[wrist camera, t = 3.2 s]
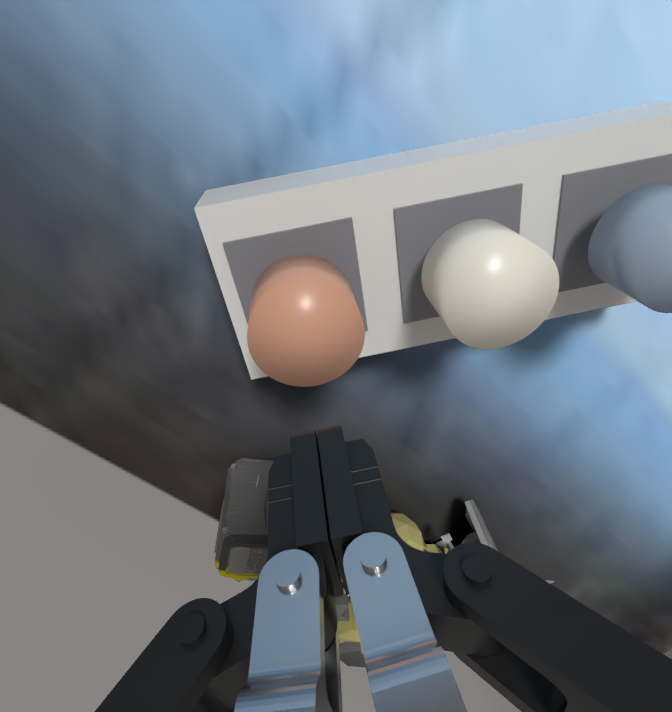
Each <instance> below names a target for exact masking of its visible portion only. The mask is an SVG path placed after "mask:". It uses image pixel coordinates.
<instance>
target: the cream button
mask: <svg viewBox="0 0 672 712" xmlns="http://www.w3.org/2000/svg"><path fill="white" fill-rule="evenodd" d="M421 280H422V287H423V290H424V293H425V295H426V297H427V299H428V300H429V302H430V303H431V304H432V306H433V307H434V309H435V310H436V311H437V313H438V314H439V316H440V317H441V318H442V320H443V321H444V323H445V324H446V325H447V327H448V328H449V330H450V331H451V333H452V334H453V335H454V336H455V337H456V338H457V339H458V340H459V341H460V342H462V343H463V344H465V345H467V346H470V347H472V348H477V349H484V350H489V349H498V348H503V347H506V346H509V345H512V344H514V343H516V342H518V341H520V340H522V339H524V338H525V337H527V336H528V335H529V334H531V333H532V332H533V331H534V330H536V329H537V328H538V327H539V326H540V325H541V324H542V322H543V321H544V320H545V319H546V317H547V316H548V315H549V313H550V311H551V310H552V308H553V306H554V303H555V301H556V298H557V295H558V290H559V273H558V269H557V266H556V264H555V262H554V260H553V259H552V257H551V256H550V255H549V254H548V253H547V252H546V251H545V250H543V249H542V248H540V247H539V246H537V245H535V244H534V243H532V242H531V241H529V240H527V239H526V238H524V237H522V236H521V235H519V234H518V233H516V232H514V231H513V230H511V229H509V228H508V227H506V226H505V225H503V224H501V223H499V222H497V221H494V220H490V219H473V220H468V221H464V222H462V223H459V224H457V225H455V226H453V227H452V228H450V229H449V230H447V231H446V232H445V233H443V234H442V235H441V236H440V237H439V238H438V239H437V240H436V241H435V243H434V244H433V245H432V247H431V248H430V250H429V252H428V253H427V255H426V258H425V260H424V264H423V267H422V277H421Z"/></svg>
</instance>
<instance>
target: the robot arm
mask: <svg viewBox="0 0 672 712" xmlns="http://www.w3.org/2000/svg"><path fill="white" fill-rule="evenodd" d="M317 435H318V438H317ZM290 441H291V454H287V455H283V456H278V457H276V458H275V460H274V462H273V464H272V466H271V468H270V470H269V472H268V489H269V491H268V502H269V505H268V555H267V561H266V564H265V566H264V567H263V569H262V571H261V573H260V576H259V577H258V579H257V580H256V581H255V582H254V583H253V584H252V585H251V586H250V587H248V588H247V589H246V590H244V591H243V592H241V593H239V594H238V595H236V596H234V597H232V598H230V599H229V600H227V601H225V602H223V603H222V604H219V603H218V602H216V601H214V600H212V599H208V598H200V599H195V600H192V601H191V602H188V603H186V604H185V605H183V606H182V607H180V608H179V609H178V610H177V611H176V612H175V613H174V614H173V615H172V616H171V617H170V619H169V620H168V621H167V623H166V624H165V625H164V626H163V628H162V629H161V630H160V631H159V633H158V634H157V635H156V636H155V637H154V639H153V640H152V641H151V642H150V644H149V645H148V646H147V647H146V649H145V650H144V651H143V652H142V653H141V655H140V656H139V657H138V659H137V660H136V661H135V662H134V663H133V665H132V666H131V667H130V669H129V670H128V671H127V672H126V673H125V675H124V676H123V677H122V678H121V680H120V681H119V682H118V683H117V685H116V686H115V687H114V688H113V690H112V691H111V692H110V693H109V694H108V696H107V697H106V698H105V700H104V701H103V702H102V703H101V705H100V706H99V707H98V708H97V709H96V711H95V712H342V694H341V674H340V654H339V634H338V627H337V625H338V622H337V612H336V604H335V597H338V596H343V595H344V593H343V586H342V581H343V584H344V588H345V591H346V594H350V598H351V602H352V607H353V611H354V615H355V620H356V624H357V628H358V633H359V637H360V641H361V646H362V650H363V654H364V659H365V664H366V669H367V675H368V679H369V684H370V688H371V692H372V697H373V701H374V706H375V710H376V712H467V710H466V707H465V705H464V703H463V699H462V697H461V694H460V691H459V689H458V686H457V683H456V681H455V678H454V675H453V673H452V670H451V667H450V665H449V662H448V660H447V657H446V655H445V653H444V651H443V650H445V651H451V652H454V654H455V655H456V656H457V657H458V658H459V659H460V660H461V661H463V662H464V663H465V664H466V665H467V666H468V667H470V668H471V669H472V670H473V671H474V672H476V673H477V674H478V675H479V676H480V677H481V678H483V679H484V680H485V681H486V682H487V683H489V684H490V685H491V686H492V687H493V688H494V689H496V690H497V691H498V692H499V693H500V694H502V695H503V696H504V697H505V698H506V699H507V700H509V701H510V702H511V703H512V704H514V705H515V706H516V707H517V708H518V709H519V710H521V711H522V712H672V659H670V658H668V657H667V656H665V655H663V654H662V653H660V652H659V651H657V650H656V649H654V648H652V647H651V646H649V645H648V644H646V643H644V642H643V641H641V640H640V639H638V638H636V637H635V636H633V635H631V634H630V633H628V632H627V631H625V630H623V629H622V628H620V627H619V626H617V625H615V624H614V623H612V622H611V621H609V620H607V619H606V618H604V617H603V616H601V615H599V614H598V613H596V612H595V611H593V610H591V609H590V608H588V607H586V606H585V605H583V604H582V603H580V602H578V601H577V600H575V599H574V598H572V597H570V596H569V595H567V594H566V593H564V592H562V591H561V590H559V589H558V588H556V587H554V586H553V585H551V584H550V583H548V582H546V581H545V580H543V579H541V578H540V577H538V576H537V575H535V574H533V573H532V572H530V571H529V570H527V569H525V568H524V567H522V566H521V565H519V564H517V563H516V562H514V561H513V560H511V559H509V558H508V557H506V556H505V555H503V554H501V553H500V552H498V551H496V550H495V549H493V548H491V547H489V546H487V545H485V544H481V543H476V542H468V543H463V544H460V545H458V546H456V547H454V548H453V549H452V550H451V551H450V552H449V553H448V554H443V553H434V552H426V551H421V550H418V549H415V548H413V547H411V546H410V545H408V544H407V543H406V542H404V541H403V540H402V539H401V537H400V536H399V535H398V533H397V531H396V529H395V527H394V523H393V520H392V516H391V512H390V509H389V505H388V502H387V498H386V494H385V491H384V487H383V483H382V480H381V476H380V473H379V469H378V465H377V462H376V458H375V454H374V451H373V449H372V448H371V447H370V446H369V445H368V444H367V443H366V442H365V441H364V440H363V439H359V440H354V441H349V442H345V441H344V436H343V431H342V426H341V425H337V426H332V427H327V428H322V429H317V434H316V431H315V430H313V431H308V432H304V433H299V434H294V435H291V437H290ZM341 577H342V579H341Z"/></svg>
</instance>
